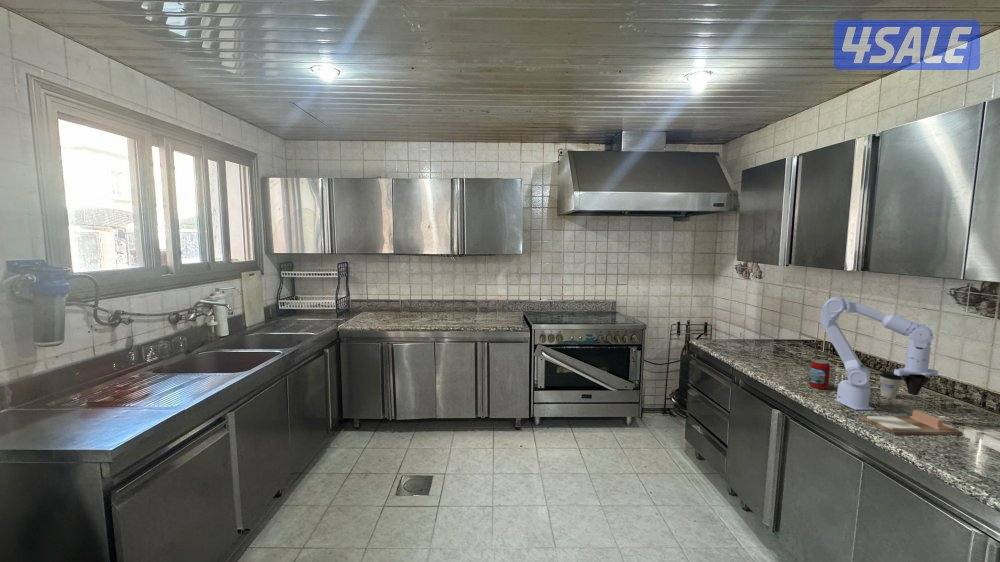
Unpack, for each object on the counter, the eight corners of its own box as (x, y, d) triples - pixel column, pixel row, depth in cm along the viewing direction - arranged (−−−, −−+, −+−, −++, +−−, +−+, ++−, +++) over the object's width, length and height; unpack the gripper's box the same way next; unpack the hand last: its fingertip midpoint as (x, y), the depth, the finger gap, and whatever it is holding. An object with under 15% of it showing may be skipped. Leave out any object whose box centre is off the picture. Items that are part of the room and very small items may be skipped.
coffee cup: (887, 393, 170) (890, 370, 168) (904, 399, 163) (907, 376, 162) (872, 393, 169) (874, 370, 168) (888, 399, 162) (891, 376, 161)
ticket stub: (910, 417, 143) (911, 409, 143) (925, 417, 143) (927, 409, 143) (938, 429, 134) (939, 421, 134) (955, 429, 134) (956, 421, 134)
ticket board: (860, 418, 144) (860, 414, 144) (922, 418, 145) (923, 414, 145) (893, 434, 132) (894, 430, 132) (961, 434, 133) (962, 430, 133)
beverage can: (804, 385, 177) (807, 359, 176) (815, 383, 179) (818, 358, 178) (821, 390, 171) (823, 364, 170) (831, 389, 173) (834, 362, 172)
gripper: (910, 361, 138) (905, 398, 139) (949, 361, 138) (944, 398, 140) (889, 355, 145) (885, 390, 146) (927, 355, 145) (922, 391, 147)
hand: (912, 394), depth 144 cm, fingers closed
